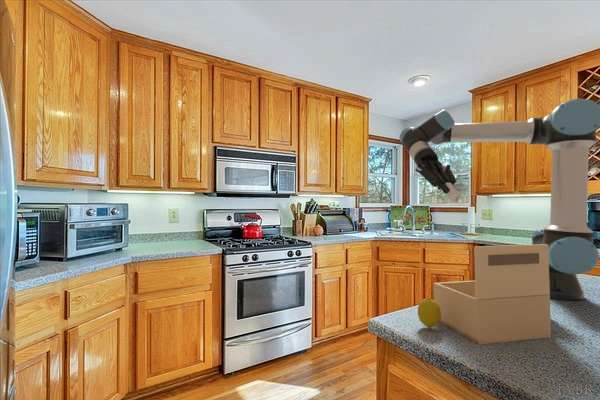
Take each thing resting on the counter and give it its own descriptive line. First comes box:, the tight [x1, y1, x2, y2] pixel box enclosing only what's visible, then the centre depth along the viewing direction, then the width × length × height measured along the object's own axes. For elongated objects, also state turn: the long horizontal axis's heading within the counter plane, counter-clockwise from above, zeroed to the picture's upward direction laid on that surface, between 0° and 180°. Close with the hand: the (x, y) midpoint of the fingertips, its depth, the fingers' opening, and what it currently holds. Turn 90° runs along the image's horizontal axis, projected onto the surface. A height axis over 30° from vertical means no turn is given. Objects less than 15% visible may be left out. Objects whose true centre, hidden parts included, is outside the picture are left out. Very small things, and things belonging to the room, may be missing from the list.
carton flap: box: [473, 243, 550, 299], centre depth 69 cm, size 20×1×12 cm, turn 101°
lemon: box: [417, 296, 441, 330], centre depth 75 cm, size 6×6×8 cm
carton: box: [432, 279, 552, 346], centre depth 76 cm, size 20×16×10 cm
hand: (456, 199), depth 91 cm, fingers closed
